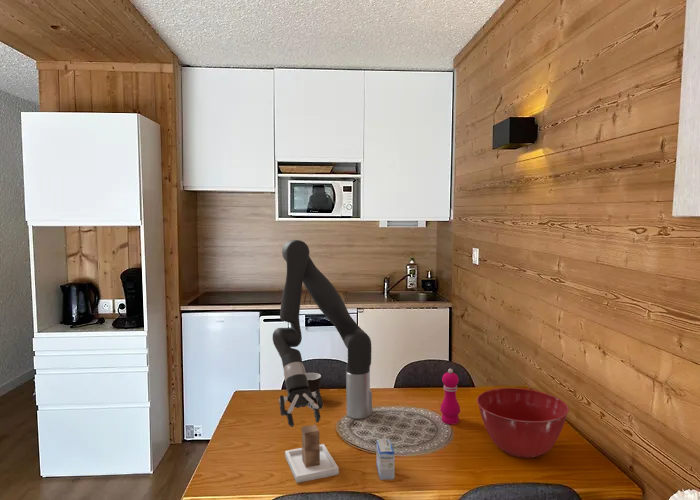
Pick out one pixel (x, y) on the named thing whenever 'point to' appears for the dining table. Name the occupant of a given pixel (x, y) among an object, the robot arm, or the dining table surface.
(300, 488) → the dining table surface
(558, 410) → the mixing bowl
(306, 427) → the brown wooden block
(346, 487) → the dining table surface
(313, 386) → the coffee mug
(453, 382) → the pepper mill
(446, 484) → the dining table surface
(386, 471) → the medicine box
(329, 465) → the tray
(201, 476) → the dining table surface
